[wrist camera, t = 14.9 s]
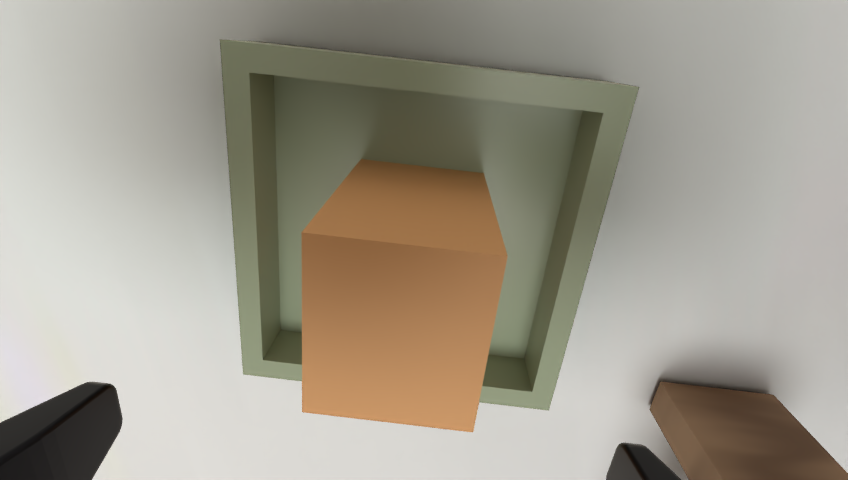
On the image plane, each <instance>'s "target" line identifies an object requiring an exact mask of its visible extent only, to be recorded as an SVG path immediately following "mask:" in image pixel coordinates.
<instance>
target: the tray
mask: <svg viewBox="0 0 848 480" xmlns="http://www.w3.org/2000/svg"><path fill="white" fill-rule="evenodd" d="M220 48H221V63H222V77H223V91H224V106H225V120H226V134H227V149H228V163H229V178H230V192H231V206H232V221H233V235H234V250H235V264H236V278H237V293H238V307H239V321H240V336H241V350H242V365H243V374H245V375H253V376H262V377H270V378H278V379H287V380H295V381H302V240H301V232H302V231H303V230H304V229H305V227H306V226H307V225H308V224H309V222H310V221H311V220H312V219H313V217H314V216H315V215H316V214H317V213H318V211H319V210H320V209H321V208H322V206H323V205H324V204H325V203H326V201H327V200H328V199H329V198H330V197H331V195H332V194H333V193H334V192H335V190H336V189H337V188H338V187H339V185H340V184H341V183H342V182H343V181H344V179H345V178H346V177H347V176H348V174H349V173H350V172H351V171H352V169H353V168H354V167H355V166H356V165H357V163H358V162H359V161H360V160H361V159H366V160H374V161H383V162H392V163H400V164H409V165H418V166H426V167H435V168H444V169H452V170H461V171H470V172H478V173H484V176H485V179H486V183H487V186H488V190H489V193H490V196H491V200H492V203H493V207H494V210H495V214H496V217H497V221H498V224H499V228H500V231H501V235H502V238H503V242H504V245H505V249H506V252H507V255H508V257H507V263H506V268H505V273H504V278H503V283H502V288H501V293H500V298H499V303H498V308H497V313H496V318H495V323H494V328H493V334H492V339H491V344H490V349H489V354H488V359H487V364H486V369H485V374H484V379H483V384H482V389H481V394H480V399H479V402H482V403H490V404H499V405H507V406H516V407H524V408H533V409H541V410H549V408H550V404H551V401H552V397H553V393H554V390H555V386H556V383H557V379H558V376H559V372H560V368H561V365H562V361H563V358H564V354H565V350H566V347H567V343H568V340H569V336H570V333H571V329H572V325H573V322H574V318H575V315H576V311H577V307H578V304H579V300H580V297H581V293H582V290H583V286H584V282H585V279H586V275H587V272H588V268H589V264H590V261H591V257H592V254H593V250H594V247H595V243H596V239H597V236H598V232H599V229H600V225H601V222H602V218H603V214H604V211H605V207H606V204H607V200H608V196H609V193H610V189H611V186H612V182H613V179H614V175H615V171H616V168H617V164H618V161H619V157H620V153H621V150H622V146H623V143H624V139H625V136H626V132H627V128H628V125H629V121H630V118H631V114H632V110H633V107H634V103H635V100H636V96H637V93H638V89H639V87H636V86H630V85H625V84H620V83H615V82H609V81H601V80H592V79H583V78H574V77H565V76H557V75H548V74H539V73H530V72H521V71H513V70H504V69H495V68H486V67H477V66H469V65H460V64H451V63H442V62H433V61H425V60H416V59H407V58H398V57H389V56H381V55H372V54H363V53H354V52H345V51H337V50H328V49H319V48H310V47H301V46H293V45H284V44H275V43H266V42H257V41H239V40H220Z"/></svg>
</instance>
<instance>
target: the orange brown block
mask: <svg viewBox="0 0 848 480" xmlns="http://www.w3.org/2000/svg"><path fill="white" fill-rule="evenodd" d="M301 240H302V412H306V413H314V414H323V415H331V416H340V417H348V418H356V419H365V420H373V421H382V422H390V423H399V424H407V425H415V426H424V427H432V428H441V429H449V430H458V431H466V432H473V430H474V425H475V420H476V415H477V410H478V405H479V399H480V394H481V389H482V384H483V379H484V374H485V369H486V364H487V359H488V354H489V349H490V344H491V339H492V334H493V328H494V323H495V318H496V313H497V308H498V303H499V298H500V293H501V288H502V283H503V278H504V273H505V268H506V263H507V257H508V255H507V252H506V249H505V245H504V242H503V238H502V235H501V231H500V228H499V224H498V221H497V217H496V214H495V210H494V207H493V203H492V200H491V196H490V193H489V190H488V186H487V183H486V179H485V176H484V173H478V172H470V171H461V170H452V169H444V168H435V167H426V166H418V165H409V164H400V163H392V162H383V161H374V160H366V159H361V160H360V161H359V162H358V163H357V165H356V166H355V167H354V168H353V169H352V171H351V172H350V173H349V174H348V176H347V177H346V178H345V179H344V181H343V182H342V183H341V184H340V185H339V187H338V188H337V189H336V190H335V192H334V193H333V194H332V195H331V197H330V198H329V199H328V200H327V201H326V203H325V204H324V205H323V206H322V208H321V209H320V210H319V211H318V213H317V214H316V215H315V216H314V217H313V219H312V220H311V221H310V222H309V224H308V225H307V226H306V227H305V229H304V230H303V231H302V232H301Z"/></svg>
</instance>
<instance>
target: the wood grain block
mask: <svg viewBox="0 0 848 480" xmlns="http://www.w3.org/2000/svg"><path fill="white" fill-rule="evenodd" d="M650 411H651V413H652V415H653V416H654V418H655V420H656V422H657V423H658V425H659V427H660V429H661V431H662V432H663V434H664V436H665V438H666V439H667V441H668V443H669V445H670V447H671V448H672V450H673V452H674V454H675V456H676V457H677V459H678V461H679V463H680V464H681V466H682V468H683V470H684V472H685V473H686V475H687V477H688V479H689V480H848V473H847V472H846V471H845V470H844V469H843V468H842V467H841V466H840V465H839V464H838V463H837V462H836V461H835V459H834V458H833V457H832V456H831V455H830V454H829V453H828V452H827V451H826V450H825V449H824V448H823V447H822V446H821V445H820V444H819V443H818V441H817V440H816V439H815V438H814V437H813V436H812V435H811V434H810V433H809V432H808V431H807V430H806V429H805V428H804V427H803V426H802V425H801V423H800V422H799V421H798V420H797V419H796V418H795V417H794V416H793V415H792V414H791V413H790V412H789V411H788V410H787V409H786V408H785V407H784V406H783V404H782V403H781V402H780V401H779V400H778V399H777V398H776V397H775V396H774V395H771V394H763V393H754V392H746V391H737V390H729V389H720V388H712V387H703V386H695V385H686V384H678V383H669V382H661V381H660V384H659V386H658V389H657V391H656V394H655V397H654V399H653V402H652V404H651V407H650Z"/></svg>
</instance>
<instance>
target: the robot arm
mask: <svg viewBox="0 0 848 480" xmlns="http://www.w3.org/2000/svg"><path fill="white" fill-rule="evenodd" d="M121 426H122V413H121V409H120V404H119V399H118V395H117V390H116V388H115V387H114V386H113V385H112V384H108V383H99V382H87V383H84V384H82V385H79V386H77V387H75V388H73V389H71V390H69V391H67V392H65V393H62V394H60V395H58V396H56V397H54V398H52V399H50V400H48V401H45V402H43V403H41V404H39V405H37V406H35V407H33V408H31V409H28V410H26V411H24V412H22V413H20V414H18V415H16V416H14V417H11V418H9V419H7V420H5V421H3V422H1V423H0V480H92V478H93V477H94V475H95V473H96V472H97V470H98V468H99V466H100V465H101V463H102V461H103V460H104V458H105V456H106V454H107V453H108V451H109V449H110V448H111V446H112V444H113V442H114V441H115V439H116V437H117V435H118V434H119V432H120V429H121ZM606 480H681V479H680V478H679V477H678V476H677V475H676V474H675V473H674V472H673V471H672V470H670V469H669V468H668V467H667V466H666V465H665V464H664V463H663V462H662V461H661V460H660V459H659V458H658V457H657V456H656V455H655V454H653V453H652V452H651V451H650V450H649V449H648V448H647V447H645V446H643V445H639V444H631V443H621V444H619V445H618V447H617V449H616V451H615V454H614V457H613V459H612V462H611V465H610V467H609V470H608V473H607V477H606Z"/></svg>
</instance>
